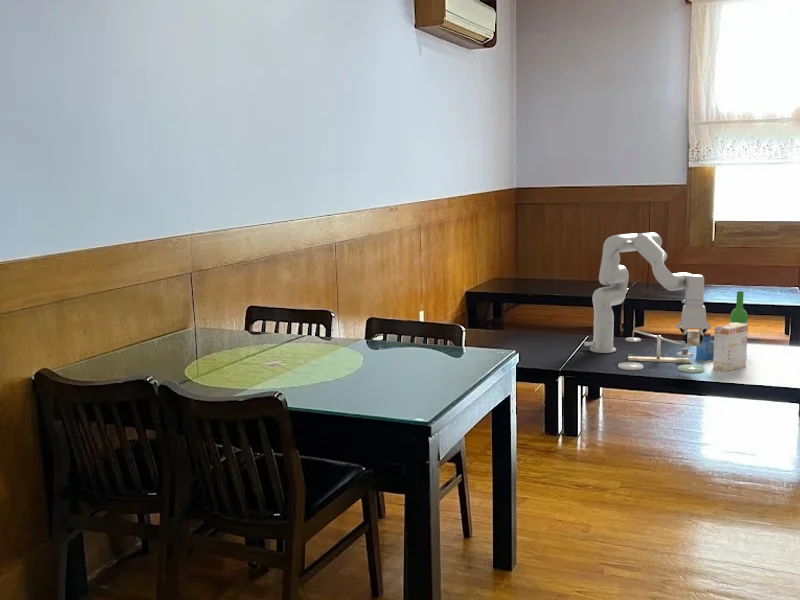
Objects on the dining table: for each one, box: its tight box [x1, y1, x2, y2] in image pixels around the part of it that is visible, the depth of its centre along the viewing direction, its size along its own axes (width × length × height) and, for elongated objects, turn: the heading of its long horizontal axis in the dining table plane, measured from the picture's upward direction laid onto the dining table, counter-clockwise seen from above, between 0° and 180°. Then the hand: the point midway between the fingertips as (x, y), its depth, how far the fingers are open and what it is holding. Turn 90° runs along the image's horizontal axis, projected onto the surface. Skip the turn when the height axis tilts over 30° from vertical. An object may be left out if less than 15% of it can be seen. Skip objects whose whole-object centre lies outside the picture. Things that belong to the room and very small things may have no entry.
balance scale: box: [625, 329, 694, 364], centre depth 373 cm, size 30×7×15 cm, turn 76°
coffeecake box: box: [712, 322, 749, 372], centre depth 358 cm, size 15×7×20 cm, turn 123°
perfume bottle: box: [695, 332, 714, 362], centre depth 376 cm, size 6×6×12 cm
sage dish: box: [677, 364, 705, 374], centre depth 357 cm, size 11×11×1 cm
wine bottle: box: [729, 290, 749, 325], centre depth 385 cm, size 8×8×30 cm
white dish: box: [617, 361, 644, 371], centre depth 363 cm, size 11×11×1 cm
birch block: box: [686, 329, 700, 347], centre depth 354 cm, size 5×5×6 cm
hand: (692, 342), depth 355 cm, fingers closed on birch block, 5 cm apart
